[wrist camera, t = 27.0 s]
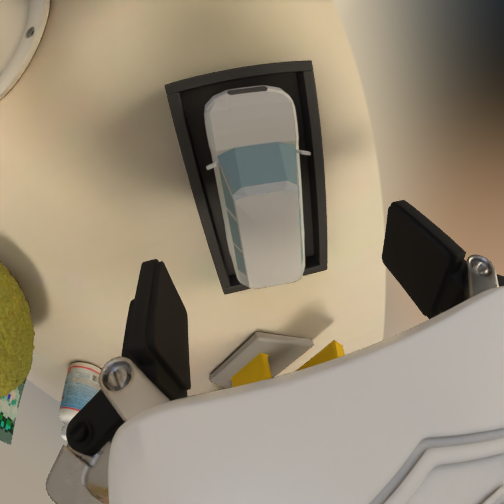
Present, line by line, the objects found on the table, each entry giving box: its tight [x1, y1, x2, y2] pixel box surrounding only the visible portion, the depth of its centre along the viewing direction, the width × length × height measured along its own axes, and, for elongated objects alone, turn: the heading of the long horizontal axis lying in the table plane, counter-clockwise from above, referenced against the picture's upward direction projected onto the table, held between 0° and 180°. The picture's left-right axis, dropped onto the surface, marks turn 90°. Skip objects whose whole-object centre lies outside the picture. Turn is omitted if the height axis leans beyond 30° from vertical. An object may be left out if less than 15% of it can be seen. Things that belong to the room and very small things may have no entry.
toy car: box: [204, 85, 310, 289], centre depth 16 cm, size 6×13×5 cm, turn 7°
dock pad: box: [165, 61, 327, 294], centre depth 19 cm, size 16×9×2 cm, turn 10°
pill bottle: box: [59, 362, 101, 441], centre depth 26 cm, size 6×6×11 cm
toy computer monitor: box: [209, 332, 344, 388], centre depth 26 cm, size 20×8×16 cm, turn 144°
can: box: [0, 361, 32, 444], centre depth 20 cm, size 6×6×15 cm
